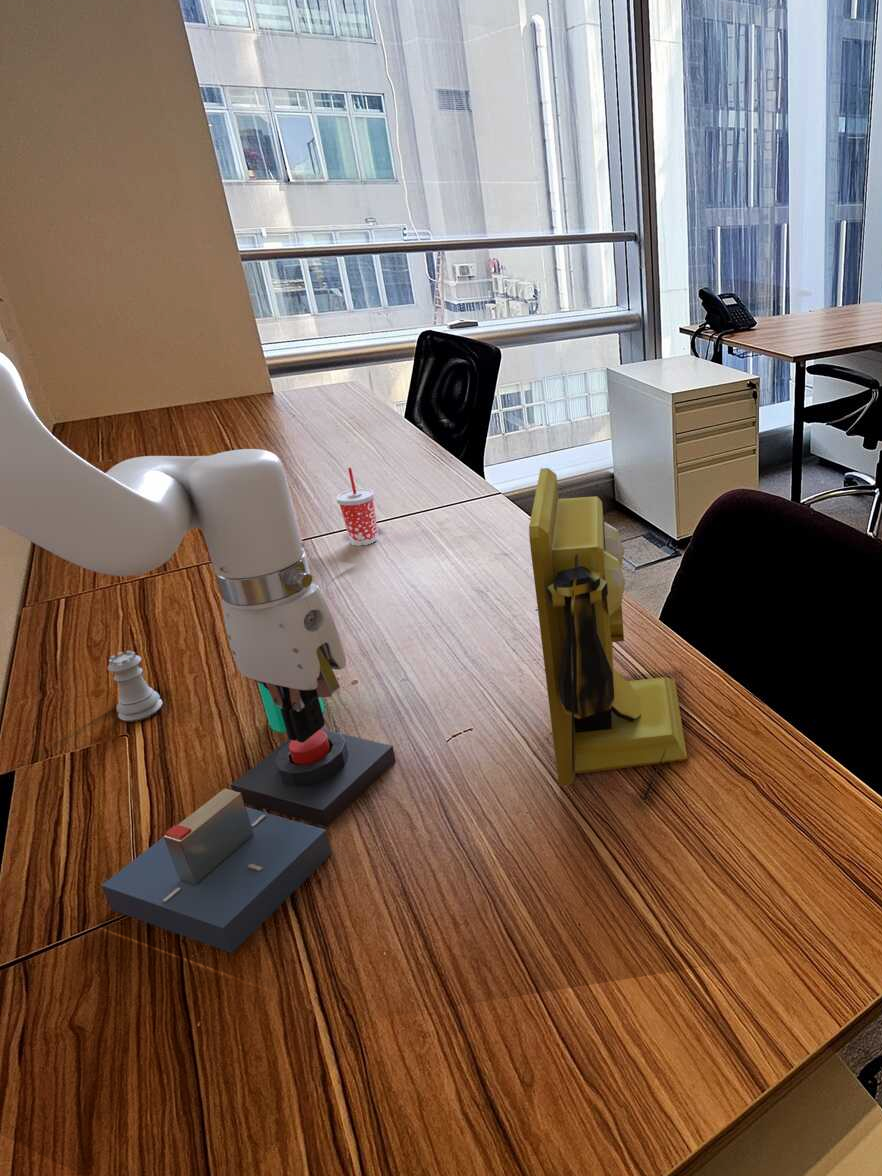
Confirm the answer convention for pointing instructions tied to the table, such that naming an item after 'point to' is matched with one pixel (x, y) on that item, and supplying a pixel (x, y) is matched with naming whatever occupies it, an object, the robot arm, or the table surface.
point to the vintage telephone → (592, 645)
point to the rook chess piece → (133, 688)
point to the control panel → (222, 883)
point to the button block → (315, 779)
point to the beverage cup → (359, 514)
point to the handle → (208, 835)
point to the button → (310, 749)
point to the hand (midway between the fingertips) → (307, 732)
